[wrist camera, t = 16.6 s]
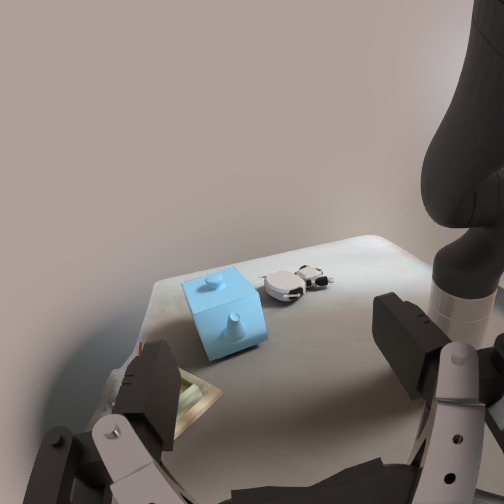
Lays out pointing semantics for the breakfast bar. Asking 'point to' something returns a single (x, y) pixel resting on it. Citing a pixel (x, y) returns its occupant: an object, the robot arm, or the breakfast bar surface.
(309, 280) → the robot toy
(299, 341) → the breakfast bar surface
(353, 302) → the breakfast bar surface
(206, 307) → the teapot
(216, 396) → the tray
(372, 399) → the breakfast bar surface
